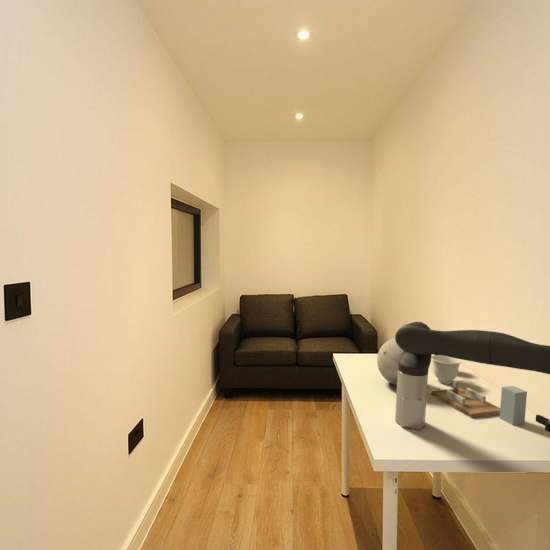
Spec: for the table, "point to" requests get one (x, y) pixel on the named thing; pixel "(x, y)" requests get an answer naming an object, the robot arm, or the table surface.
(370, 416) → the table surface
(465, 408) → the plate
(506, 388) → the block
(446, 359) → the teacup
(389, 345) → the moon model
